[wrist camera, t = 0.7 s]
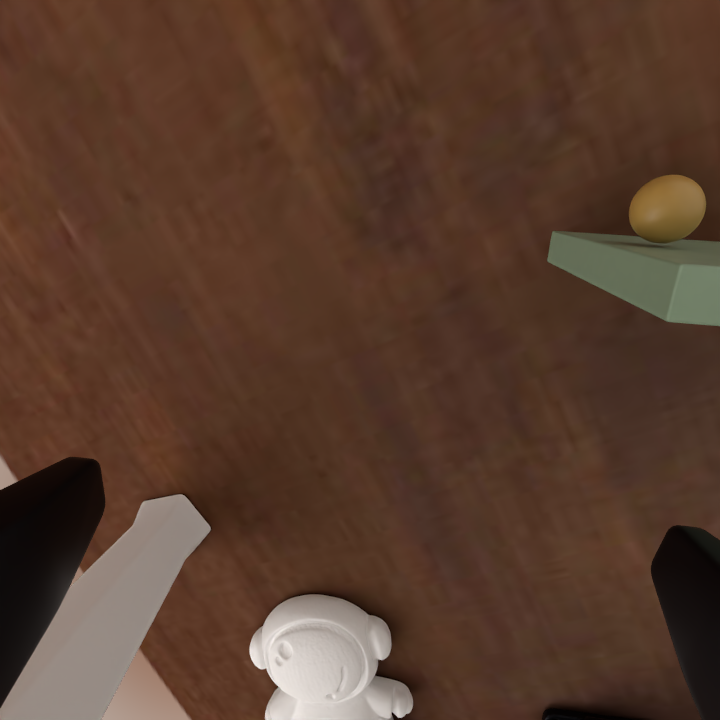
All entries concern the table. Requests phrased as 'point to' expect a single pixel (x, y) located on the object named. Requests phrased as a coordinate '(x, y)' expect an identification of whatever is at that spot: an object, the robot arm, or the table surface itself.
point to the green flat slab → (652, 255)
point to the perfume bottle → (106, 617)
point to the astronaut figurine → (327, 662)
